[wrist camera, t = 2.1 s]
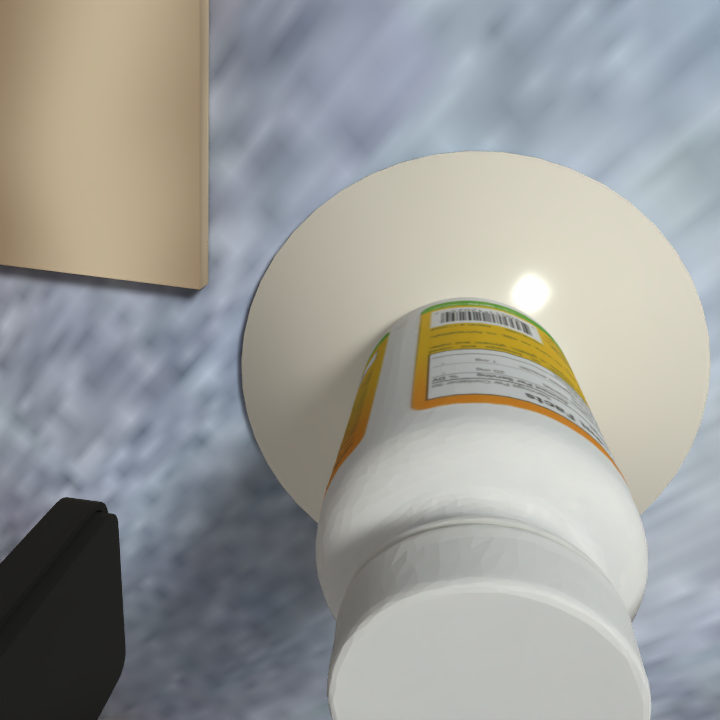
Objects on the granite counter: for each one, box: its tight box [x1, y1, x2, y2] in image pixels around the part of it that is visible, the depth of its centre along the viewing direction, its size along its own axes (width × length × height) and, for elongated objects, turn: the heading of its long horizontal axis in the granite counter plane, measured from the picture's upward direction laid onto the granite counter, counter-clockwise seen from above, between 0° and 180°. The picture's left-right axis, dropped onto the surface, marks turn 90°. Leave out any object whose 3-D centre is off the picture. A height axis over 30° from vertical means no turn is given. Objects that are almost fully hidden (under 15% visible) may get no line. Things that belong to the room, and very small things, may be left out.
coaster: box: [241, 151, 710, 523], centre depth 17 cm, size 12×12×1 cm
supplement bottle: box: [316, 297, 651, 720], centre depth 12 cm, size 5×5×10 cm
